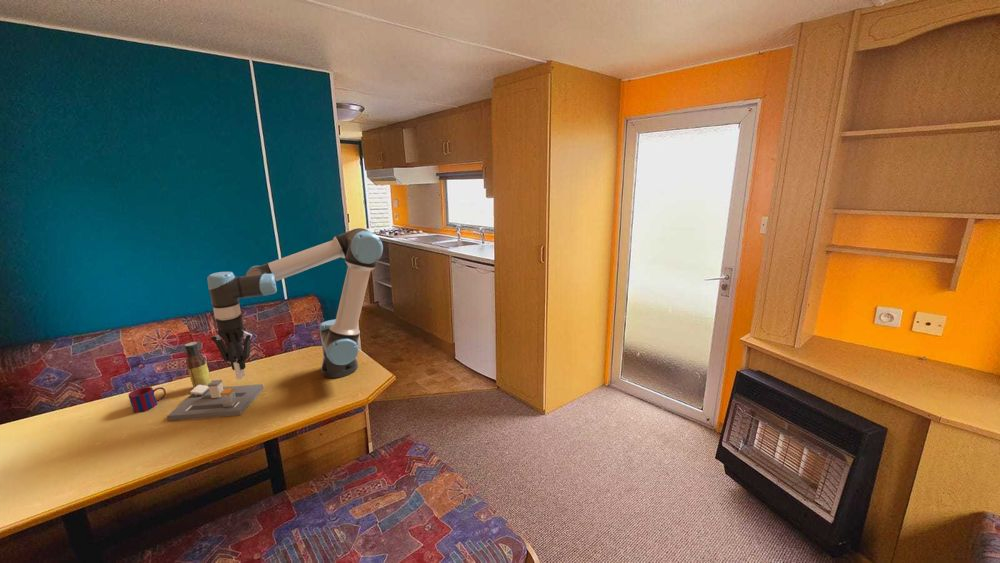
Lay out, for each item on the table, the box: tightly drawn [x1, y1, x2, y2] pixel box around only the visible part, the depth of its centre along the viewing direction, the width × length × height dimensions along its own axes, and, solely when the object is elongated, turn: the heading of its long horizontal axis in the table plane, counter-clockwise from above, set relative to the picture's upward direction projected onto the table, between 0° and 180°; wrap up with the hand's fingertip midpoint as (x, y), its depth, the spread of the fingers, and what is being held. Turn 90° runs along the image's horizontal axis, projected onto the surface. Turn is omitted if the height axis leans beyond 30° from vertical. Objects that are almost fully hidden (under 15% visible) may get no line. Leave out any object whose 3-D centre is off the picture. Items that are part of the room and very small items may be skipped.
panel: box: [166, 384, 264, 422], centre depth 146 cm, size 24×18×2 cm
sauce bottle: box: [184, 341, 213, 389], centre depth 155 cm, size 7×6×20 cm
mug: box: [128, 386, 167, 414], centre depth 145 cm, size 7×10×7 cm
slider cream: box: [208, 379, 224, 398], centre depth 147 cm, size 3×3×6 cm
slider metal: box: [220, 388, 237, 407], centre depth 141 cm, size 3×3×6 cm
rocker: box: [189, 385, 209, 396], centre depth 150 cm, size 4×5×2 cm
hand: (240, 377), depth 140 cm, fingers closed
